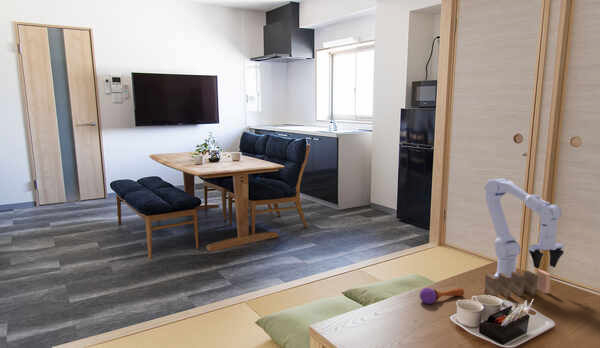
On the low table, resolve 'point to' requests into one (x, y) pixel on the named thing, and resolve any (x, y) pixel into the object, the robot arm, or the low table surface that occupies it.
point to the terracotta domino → (543, 281)
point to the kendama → (438, 294)
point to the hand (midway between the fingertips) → (544, 266)
